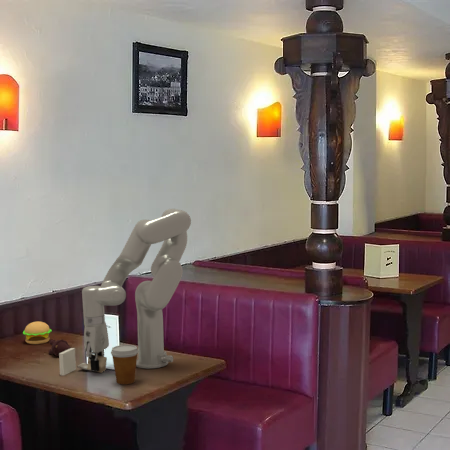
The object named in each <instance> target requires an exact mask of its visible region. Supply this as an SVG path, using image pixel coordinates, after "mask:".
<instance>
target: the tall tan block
mask: <svg viewBox="0 0 450 450" xmlns="http://www.w3.org/2000/svg"><path fill="white" fill-rule="evenodd" d="M92 355H94V356H95V354H92ZM97 356H98V360H99V371H95V372H96V373H101V374H102V373H103V371H104V372H106V371H107V358H108V357H107V356H104V357H103V356H99V355H97ZM76 368H78V369H82V370H88V371H91V362H90V360H89V357H87V363H86V362H82V363H80V364H78V365H76ZM105 370H106V371H105Z"/></svg>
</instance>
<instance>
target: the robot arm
mask: <svg viewBox="0 0 450 450" xmlns="http://www.w3.org/2000/svg"><path fill="white" fill-rule="evenodd" d="M191 223H192V219H191V216H190V214H188V212H187V211H184V210H183V209H176V208H168V209H166V210H165V211H164V212H163V213H162V214H161V217H158V218H156V219H141V220H139V221H137V222H136V224H135V225H134V227H133V229H132V231H131V233H130V234H129V237H128V238H127V241H126V243H125V245H124V246H123V249H122V250H121V252H120V254H119V255H118V257H117V258H116V260H115V261H114V263H112V265H111V266H110V268H109V269H108V271H107V273H106V275H105V277H104V279H103V281H102V282H101V285H89V286H86V287H85V286H84V287H83V288H82V289H81V294H82V295H81V296H82V298H81V299H82V314H83V325H84V328H83V329H84V330H83V344H84V346H83V347H84V352H85V358H88V357H89V360H90V362H91V370H90V371H92V372H96V371H99V360H98V356H97V355H99V356H103V357H105V352H104V349H105V350H106V349H107V348H109V346H110V342H109V331H108V328H107V323H106V318H105V317H106V316H105V306H119V305H121V304H122V303H124V302H125V300H126V298H127V293H126V292H127V291H126V290H125V289H124V288H123V285H124V283H125V281H126V280H127V278H128V277H129V275H130V274H131V273H132V272H133V271H134V270H136V269H138V268H139V267H140V266H141V265H142V263H143V262H144V260H145V258H146V255H147V253H148V252H149V249H150V247H151V246H152V245H155V244H158V243H161V242H162V244H161V247H160V249H159V250H158V252H157V255H156V256H155V258H154V259H153V262H152V263H151V266H150V273H151V275H152V276H153V278H152V280H144V281H142V282H140V283H139V284H138V285H137V286H136V289H135V293H134V298H135V299H134V300H135V306H136V317H137V345H138V346H137V349H138V354H137V356H138V358H137V362H136V368H139V369H149V370H151V369H159V368H163V367H166V366H167V365H168V364H169V363H173V362H174V356H173V355H167V351H165V350H164V347H165V345H164V342H165V341H164V317H163V315H164V314H163V309H164V308H166V307H167V306H168V304H169V303H170V300H171V299H172V297H173V295H174V294H175V292H176V291H177V288H178V287H179V284H180V282H181V280H182V277H183V272H184V271H183V270H184V269H183V266H182V264H181V262H180V261H181V259H182V256H183V255H184V252H185V250H186V248H187V244H188V233H187V232H188V230H189V229H190V227H191V225H192V224H191ZM92 354H94V355H95V356H94V355H92Z"/></svg>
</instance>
